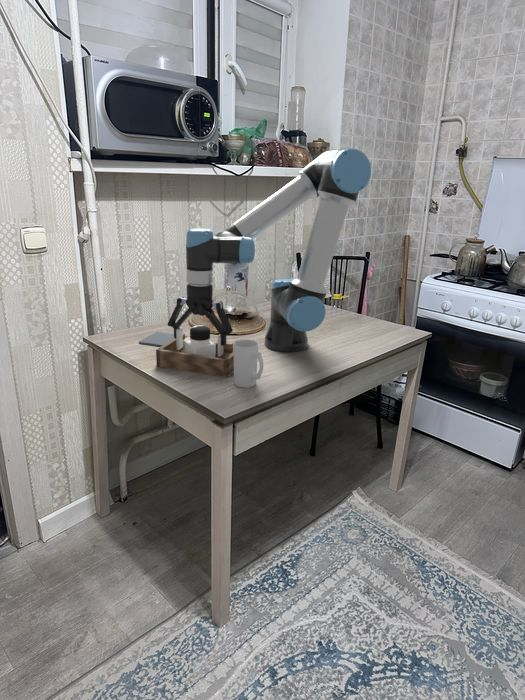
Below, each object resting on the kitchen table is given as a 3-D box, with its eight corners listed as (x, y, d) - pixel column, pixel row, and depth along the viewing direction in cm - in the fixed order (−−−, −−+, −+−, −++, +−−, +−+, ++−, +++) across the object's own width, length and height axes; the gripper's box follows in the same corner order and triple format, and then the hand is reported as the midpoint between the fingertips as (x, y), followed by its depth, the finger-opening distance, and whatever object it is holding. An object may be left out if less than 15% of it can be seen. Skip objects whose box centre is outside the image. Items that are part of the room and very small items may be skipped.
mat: (191, 338, 170) (191, 336, 169) (175, 348, 159) (175, 347, 159) (156, 333, 173) (156, 331, 173) (138, 343, 162) (138, 341, 162)
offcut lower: (237, 359, 152) (237, 351, 151) (233, 363, 149) (233, 354, 148) (214, 356, 155) (214, 347, 153) (210, 360, 151) (210, 351, 150)
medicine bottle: (216, 365, 146) (216, 328, 142) (195, 370, 142) (194, 332, 138) (205, 358, 152) (205, 322, 148) (184, 362, 148) (184, 325, 144)
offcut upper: (233, 349, 152) (233, 340, 151) (232, 353, 149) (232, 344, 148) (214, 348, 152) (214, 340, 151) (213, 352, 150) (213, 343, 148)
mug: (228, 382, 135) (228, 342, 131) (245, 376, 139) (246, 337, 135) (253, 394, 128) (254, 352, 124) (270, 387, 133) (272, 347, 129)
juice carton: (222, 315, 198) (223, 250, 188) (228, 309, 207) (228, 246, 198) (243, 317, 197) (245, 251, 187) (248, 310, 206) (249, 247, 197)
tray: (246, 357, 153) (247, 342, 152) (227, 377, 138) (227, 360, 136) (182, 348, 160) (181, 333, 158) (156, 365, 144) (156, 349, 143)
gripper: (244, 285, 138) (242, 353, 146) (167, 276, 145) (169, 342, 152) (235, 290, 132) (233, 362, 139) (154, 281, 138) (157, 349, 146)
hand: (199, 351), depth 146 cm, fingers open, 13 cm apart
